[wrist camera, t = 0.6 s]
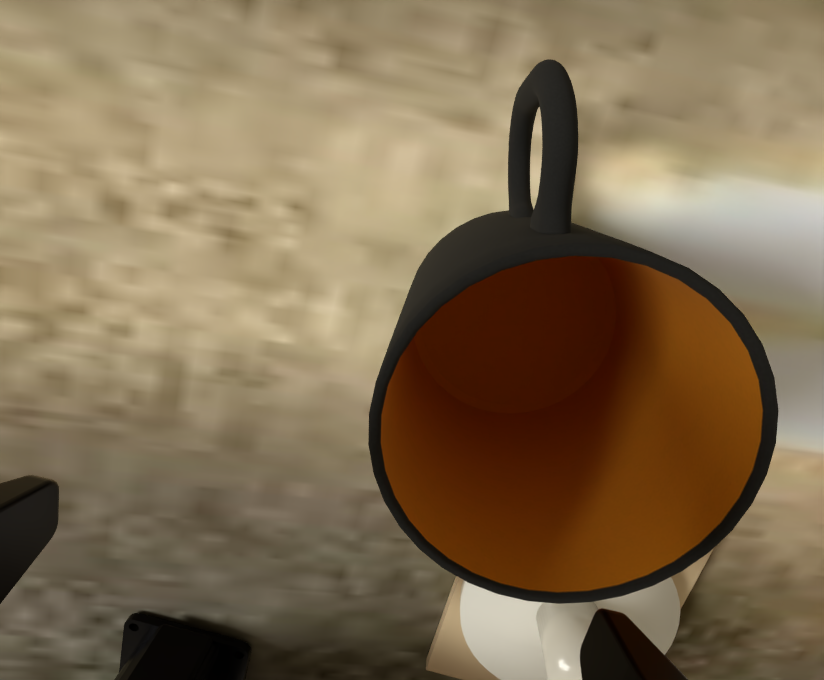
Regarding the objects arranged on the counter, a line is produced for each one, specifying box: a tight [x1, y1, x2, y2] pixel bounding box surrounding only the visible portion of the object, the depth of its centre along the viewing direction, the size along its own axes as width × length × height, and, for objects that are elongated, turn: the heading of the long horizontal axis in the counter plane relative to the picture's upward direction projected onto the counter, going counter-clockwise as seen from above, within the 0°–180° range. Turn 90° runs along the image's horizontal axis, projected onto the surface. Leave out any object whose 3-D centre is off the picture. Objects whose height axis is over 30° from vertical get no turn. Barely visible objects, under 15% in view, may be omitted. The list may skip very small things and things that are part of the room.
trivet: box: [426, 548, 714, 680], centre depth 24 cm, size 12×10×1 cm
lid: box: [460, 577, 680, 680], centre depth 22 cm, size 10×10×4 cm
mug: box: [369, 60, 778, 604], centre depth 15 cm, size 8×12×10 cm
